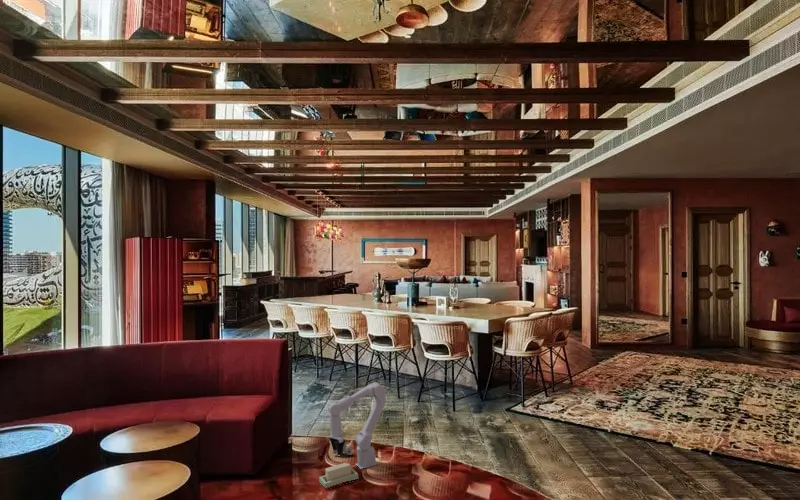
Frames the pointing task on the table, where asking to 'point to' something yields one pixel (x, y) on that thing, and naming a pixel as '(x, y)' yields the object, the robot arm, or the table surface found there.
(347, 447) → the chubby cartoon animal
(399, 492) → the table surface
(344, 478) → the rack
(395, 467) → the table surface
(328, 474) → the beige rectangular block
